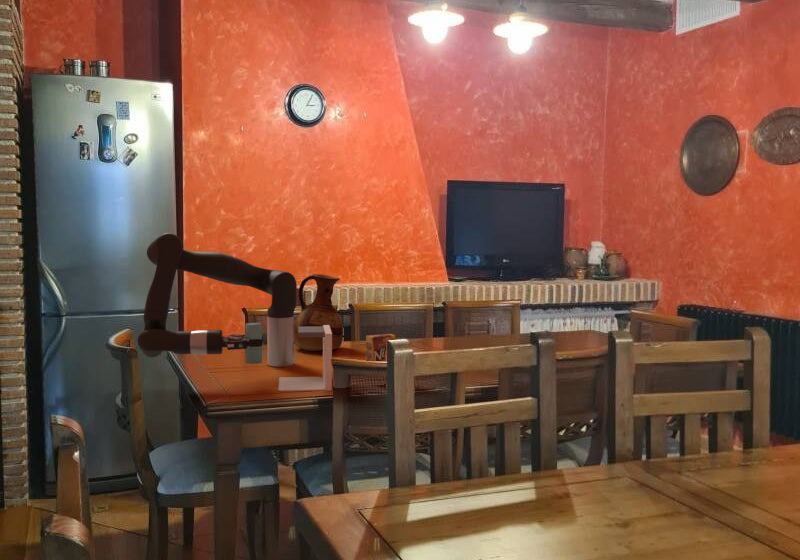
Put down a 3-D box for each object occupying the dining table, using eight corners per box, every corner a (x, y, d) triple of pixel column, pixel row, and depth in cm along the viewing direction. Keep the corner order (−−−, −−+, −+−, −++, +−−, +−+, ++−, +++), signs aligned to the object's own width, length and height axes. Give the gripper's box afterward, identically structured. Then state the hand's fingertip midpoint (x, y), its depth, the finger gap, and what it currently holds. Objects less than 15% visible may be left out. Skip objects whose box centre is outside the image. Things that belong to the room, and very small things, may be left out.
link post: (246, 360, 240) (245, 322, 239) (262, 360, 241) (262, 322, 240) (245, 364, 235) (244, 325, 234) (261, 363, 236) (261, 325, 235)
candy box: (371, 384, 242) (371, 337, 240) (364, 382, 245) (364, 335, 244) (394, 381, 247) (395, 334, 245) (387, 379, 250) (388, 332, 249)
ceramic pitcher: (340, 354, 292) (341, 276, 289) (288, 353, 292) (288, 275, 289) (345, 345, 311) (345, 272, 309) (295, 344, 311) (296, 271, 309)
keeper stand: (279, 378, 248) (279, 325, 247) (328, 377, 251) (329, 324, 249) (278, 391, 231) (278, 334, 229) (331, 390, 233) (332, 333, 231)
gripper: (203, 334, 228) (261, 333, 230) (208, 326, 242) (263, 325, 244) (204, 358, 229) (261, 357, 231) (209, 349, 243) (263, 348, 245)
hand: (262, 341), depth 238 cm, fingers closed on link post, 5 cm apart
